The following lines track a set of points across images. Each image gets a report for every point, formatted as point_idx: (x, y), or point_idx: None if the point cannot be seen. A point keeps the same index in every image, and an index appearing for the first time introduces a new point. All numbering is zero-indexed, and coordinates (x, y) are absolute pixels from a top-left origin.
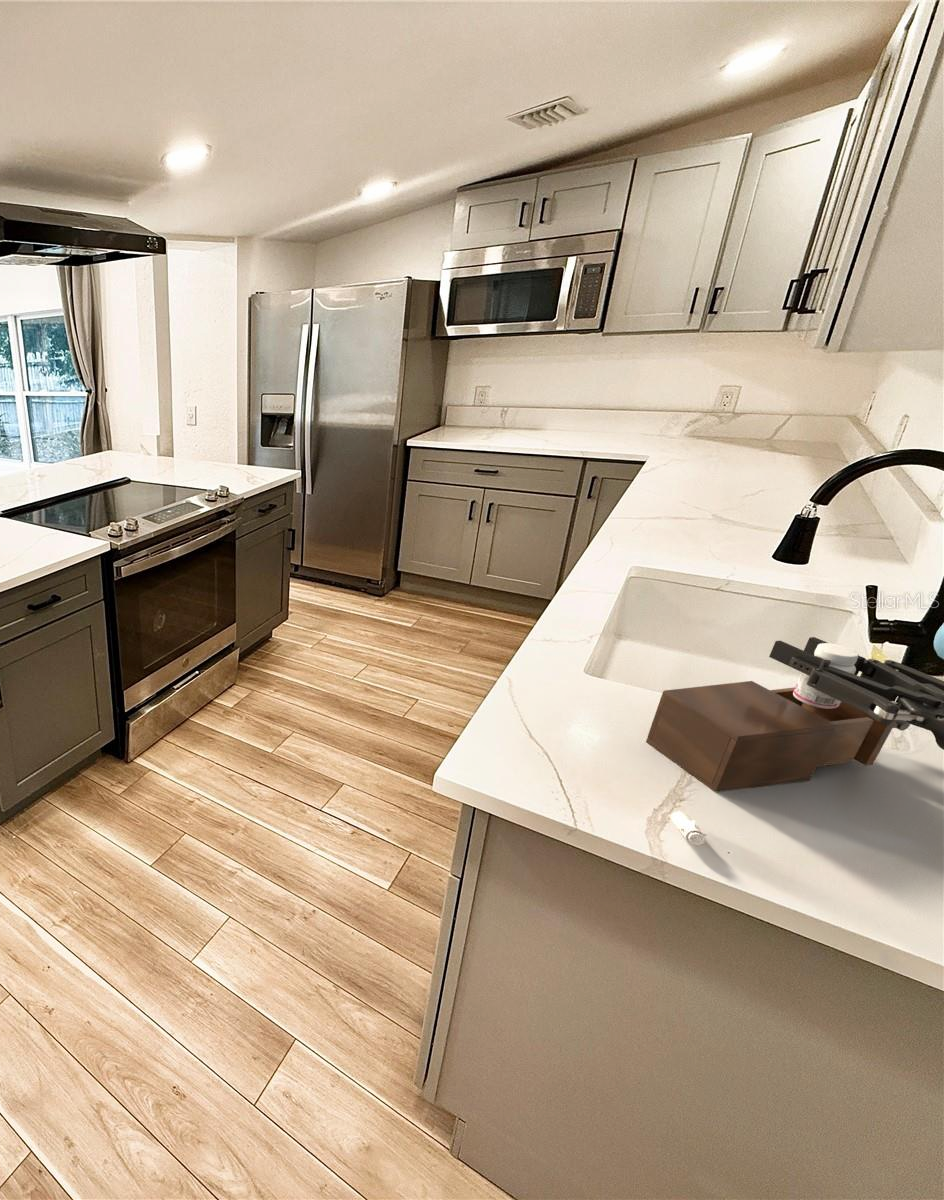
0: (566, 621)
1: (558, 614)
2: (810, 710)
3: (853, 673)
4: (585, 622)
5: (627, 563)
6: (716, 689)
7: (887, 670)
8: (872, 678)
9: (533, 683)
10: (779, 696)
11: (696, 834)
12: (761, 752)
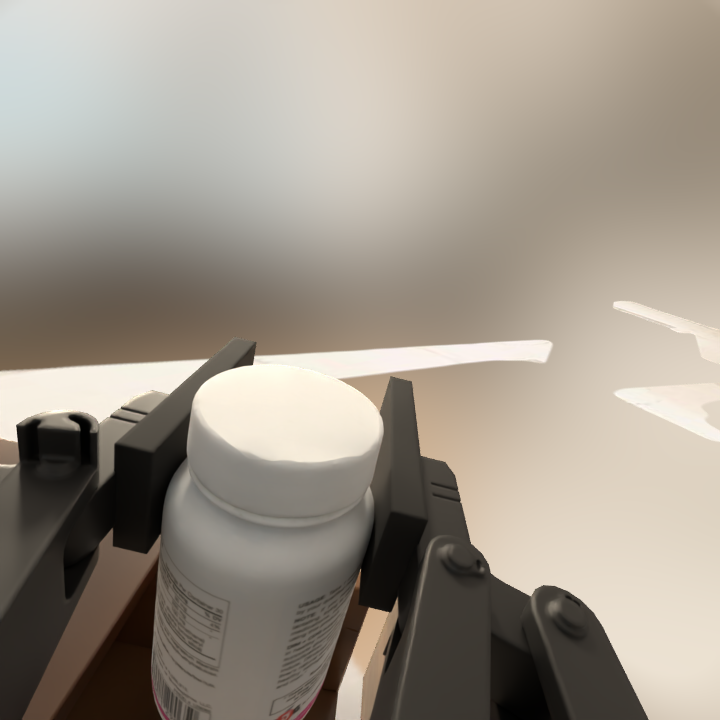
0: (340, 359)
1: (348, 352)
2: (381, 671)
3: (274, 593)
4: (363, 368)
5: (534, 356)
6: (7, 462)
7: (406, 689)
8: (380, 686)
9: (69, 383)
10: (132, 574)
11: None
12: None
